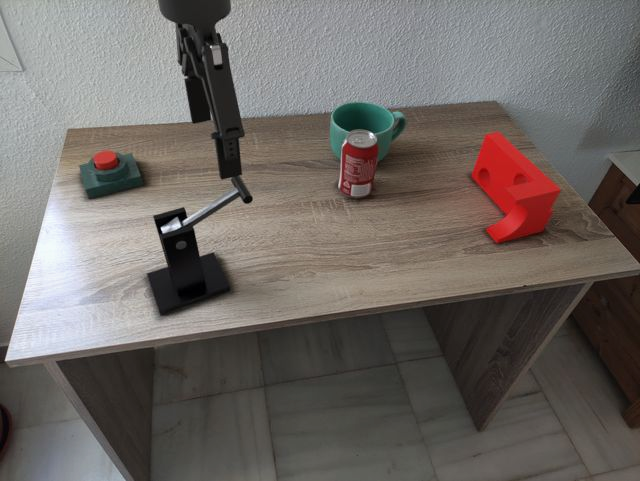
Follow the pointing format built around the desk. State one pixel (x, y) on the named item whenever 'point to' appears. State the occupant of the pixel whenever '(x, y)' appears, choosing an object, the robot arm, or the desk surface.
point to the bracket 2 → (514, 189)
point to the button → (106, 160)
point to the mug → (365, 125)
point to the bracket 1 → (184, 268)
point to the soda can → (358, 163)
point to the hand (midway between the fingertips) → (215, 146)
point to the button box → (110, 176)
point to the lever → (212, 206)
